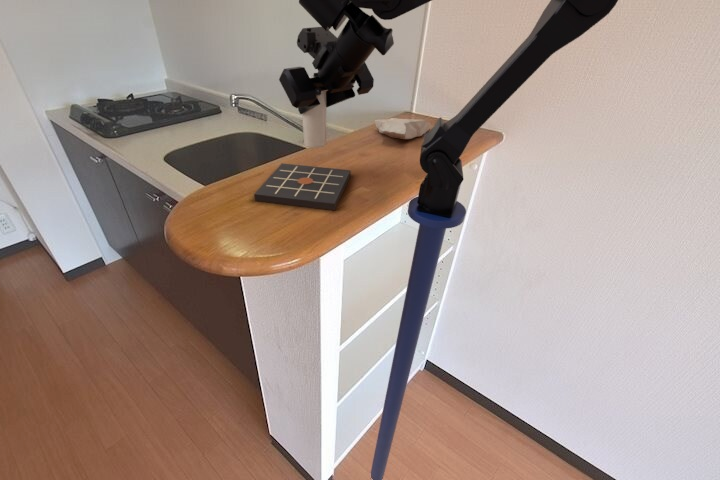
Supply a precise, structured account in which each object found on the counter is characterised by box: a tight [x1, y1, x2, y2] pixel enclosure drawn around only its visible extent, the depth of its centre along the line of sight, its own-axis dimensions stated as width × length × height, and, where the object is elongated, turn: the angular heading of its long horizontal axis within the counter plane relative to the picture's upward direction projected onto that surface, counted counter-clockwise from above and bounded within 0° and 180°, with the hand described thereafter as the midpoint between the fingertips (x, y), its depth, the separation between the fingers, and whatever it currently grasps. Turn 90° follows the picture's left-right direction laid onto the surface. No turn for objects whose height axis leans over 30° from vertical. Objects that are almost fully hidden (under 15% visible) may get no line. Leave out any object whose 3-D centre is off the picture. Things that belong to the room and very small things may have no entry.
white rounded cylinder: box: [301, 74, 327, 149], centre depth 71 cm, size 5×5×13 cm
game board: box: [253, 162, 352, 211], centre depth 73 cm, size 16×16×2 cm
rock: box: [374, 117, 432, 140], centre depth 99 cm, size 21×5×15 cm
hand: (310, 109), depth 71 cm, fingers closed on white rounded cylinder, 5 cm apart
